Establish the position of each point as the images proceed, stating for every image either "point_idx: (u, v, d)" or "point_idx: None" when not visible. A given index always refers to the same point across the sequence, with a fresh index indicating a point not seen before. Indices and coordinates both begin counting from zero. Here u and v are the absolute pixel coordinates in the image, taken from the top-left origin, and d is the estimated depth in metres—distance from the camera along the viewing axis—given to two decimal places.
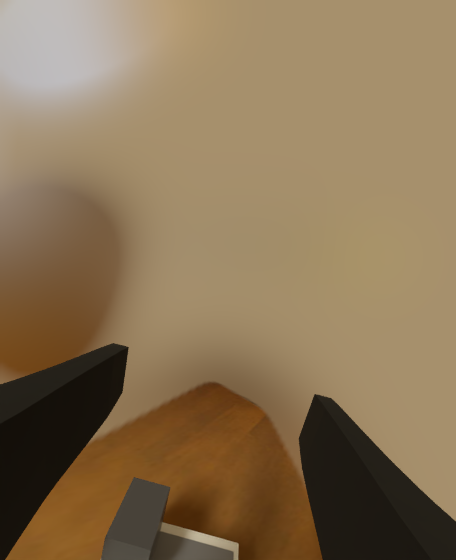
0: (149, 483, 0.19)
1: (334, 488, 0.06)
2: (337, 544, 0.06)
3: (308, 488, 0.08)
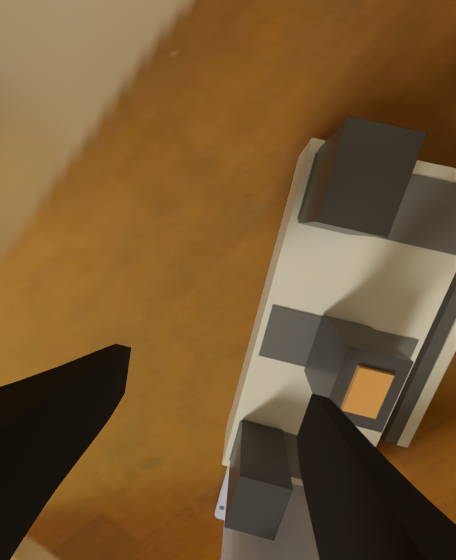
0: (381, 127, 0.09)
1: (330, 487, 0.06)
2: (333, 543, 0.06)
3: (305, 487, 0.08)
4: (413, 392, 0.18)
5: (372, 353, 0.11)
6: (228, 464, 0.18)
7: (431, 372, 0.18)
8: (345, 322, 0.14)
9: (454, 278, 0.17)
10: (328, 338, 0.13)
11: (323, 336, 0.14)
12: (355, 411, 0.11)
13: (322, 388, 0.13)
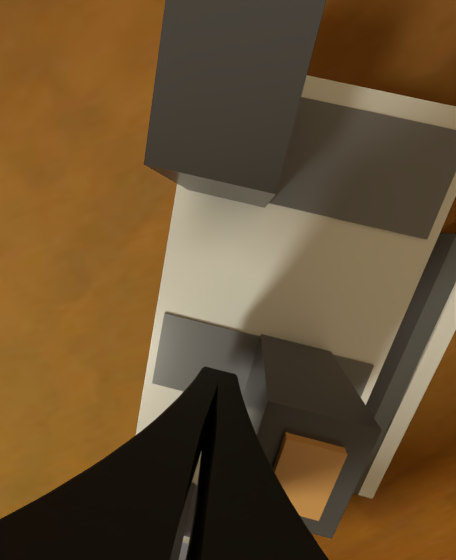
0: None
1: (206, 454, 0.07)
2: (197, 506, 0.06)
3: (200, 459, 0.08)
4: None
5: (309, 413, 0.06)
6: None
7: (400, 402, 0.13)
8: (291, 346, 0.10)
9: (431, 275, 0.12)
10: (258, 374, 0.09)
11: (256, 368, 0.09)
12: None
13: None
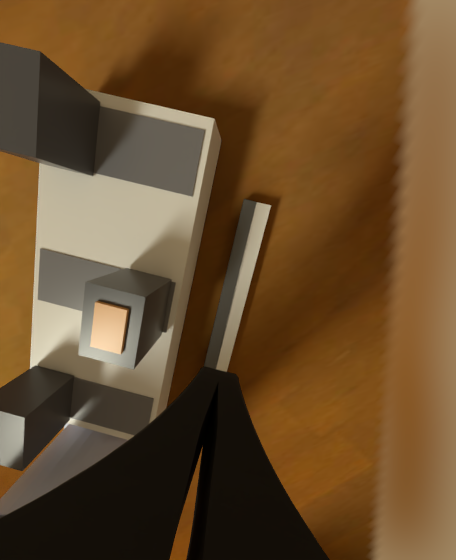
0: (1, 46, 0.10)
1: (207, 454, 0.07)
2: (198, 506, 0.06)
3: (201, 459, 0.08)
4: (214, 344, 0.19)
5: (107, 288, 0.11)
6: None
7: (227, 323, 0.19)
8: (142, 273, 0.15)
9: None
10: None
11: None
12: (101, 347, 0.12)
13: None
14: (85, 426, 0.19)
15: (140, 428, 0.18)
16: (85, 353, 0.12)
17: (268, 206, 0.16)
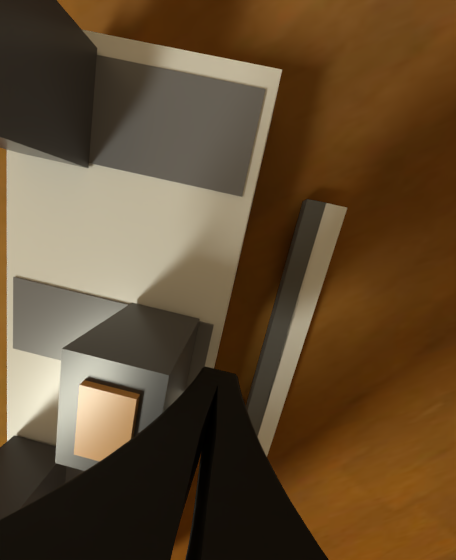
0: None
1: (206, 454, 0.07)
2: (197, 506, 0.06)
3: (200, 459, 0.08)
4: (259, 397, 0.14)
5: (101, 360, 0.06)
6: None
7: (277, 370, 0.13)
8: (156, 312, 0.10)
9: (293, 242, 0.12)
10: None
11: None
12: (93, 456, 0.07)
13: None
14: None
15: None
16: (67, 461, 0.07)
17: (343, 209, 0.11)
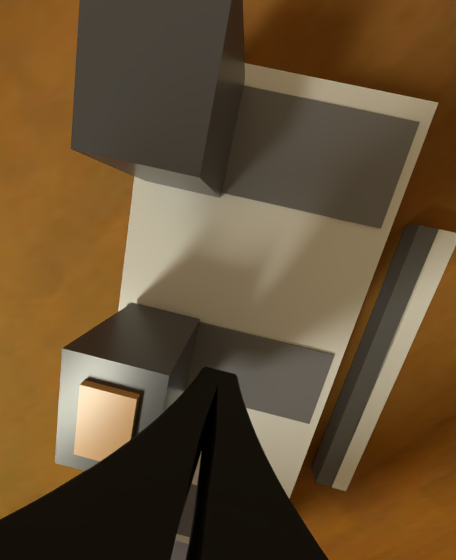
0: None
1: (206, 454, 0.07)
2: (197, 505, 0.06)
3: (200, 459, 0.08)
4: (349, 420, 0.14)
5: (101, 360, 0.06)
6: None
7: (370, 394, 0.13)
8: (156, 313, 0.10)
9: (397, 267, 0.12)
10: None
11: None
12: (93, 456, 0.07)
13: None
14: None
15: None
16: (67, 460, 0.07)
17: None
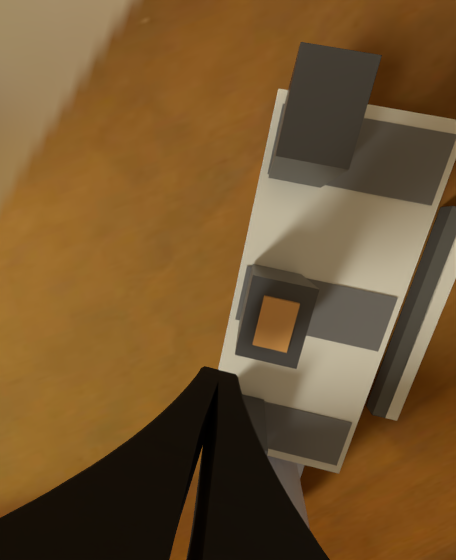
0: (335, 52, 0.09)
1: (207, 454, 0.07)
2: (197, 506, 0.06)
3: (201, 459, 0.08)
4: (399, 360, 0.18)
5: (277, 281, 0.11)
6: None
7: (416, 338, 0.17)
8: (273, 269, 0.14)
9: (435, 238, 0.16)
10: (249, 280, 0.13)
11: (248, 282, 0.14)
12: (265, 345, 0.11)
13: (239, 328, 0.12)
14: (267, 453, 0.17)
15: (331, 454, 0.17)
16: (243, 353, 0.12)
17: None
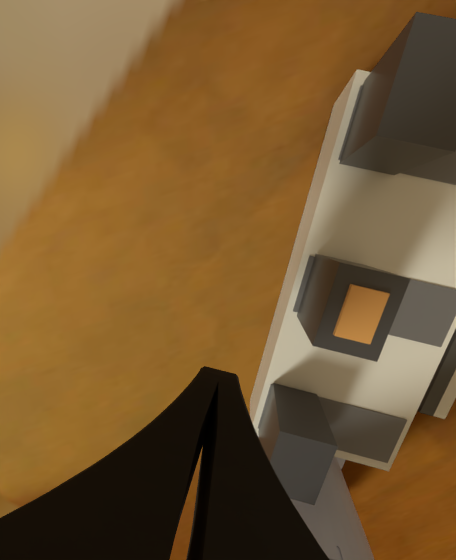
0: (453, 23, 0.08)
1: (207, 454, 0.07)
2: (197, 506, 0.06)
3: (201, 459, 0.08)
4: (452, 357, 0.17)
5: (365, 269, 0.10)
6: None
7: None
8: (339, 259, 0.14)
9: None
10: (320, 270, 0.13)
11: (316, 271, 0.13)
12: (348, 336, 0.11)
13: (314, 318, 0.12)
14: None
15: (383, 452, 0.17)
16: (321, 344, 0.11)
17: None
